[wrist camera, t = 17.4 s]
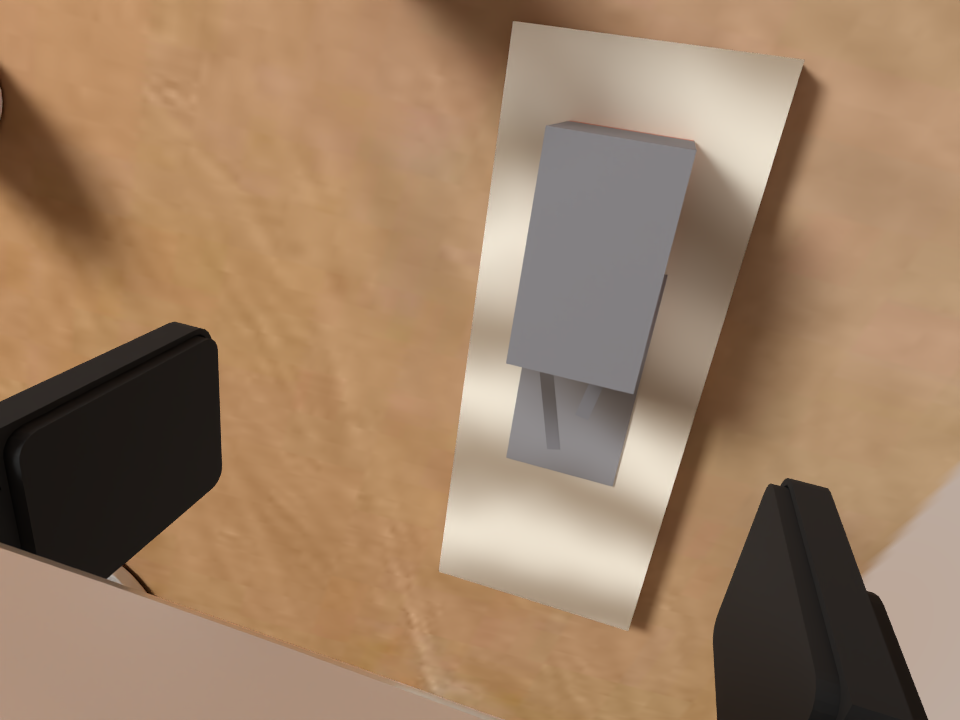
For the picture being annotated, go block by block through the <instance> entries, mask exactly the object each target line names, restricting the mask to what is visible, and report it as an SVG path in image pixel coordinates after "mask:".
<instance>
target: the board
mask: <svg viewBox="0 0 960 720" xmlns="http://www.w3.org/2000/svg"><path fill="white" fill-rule="evenodd" d="M803 63H804V60H803V59H795V58H788V57H780V56H773V55H765V54H758V53H750V52H743V51H735V50H728V49H720V48H713V47H705V46H698V45H690V44H683V43H675V42H667V41H660V40H652V39H645V38H637V37H630V36H622V35H615V34H607V33H600V32H592V31H585V30H577V29H570V28H562V27H555V26H547V25H540V24H532V23H525V22H517V21H513V26H512V33H511V40H510V48H509V55H508V63H507V70H506V77H505V85H504V92H503V100H502V107H501V114H500V122H499V129H498V137H497V144H496V151H495V159H494V166H493V174H492V181H491V188H490V196H489V203H488V211H487V218H486V225H485V233H484V240H483V248H482V255H481V262H480V270H479V277H478V285H477V292H476V299H475V307H474V314H473V322H472V329H471V336H470V344H469V351H468V359H467V366H466V374H465V381H464V388H463V396H462V403H461V411H460V418H459V425H458V433H457V440H456V448H455V455H454V462H453V470H452V477H451V485H450V492H449V499H448V507H447V514H446V522H445V529H444V536H443V544H442V551H441V559H440V566H439V572H442V573H445V574H448V575H452V576H455V577H458V578H461V579H464V580H467V581H471V582H474V583H477V584H480V585H483V586H487V587H490V588H493V589H496V590H499V591H502V592H506V593H509V594H512V595H515V596H518V597H522V598H525V599H528V600H531V601H534V602H537V603H541V604H544V605H547V606H550V607H553V608H557V609H560V610H563V611H566V612H569V613H572V614H576V615H579V616H582V617H585V618H588V619H591V620H595V621H598V622H601V623H604V624H607V625H611V626H614V627H617V628H620V629H623V630H626V631H628V630H629V627H630V624H631V621H632V617H633V614H634V611H635V608H636V604H637V601H638V598H639V595H640V591H641V588H642V585H643V582H644V578H645V575H646V572H647V569H648V565H649V562H650V559H651V556H652V552H653V549H654V546H655V543H656V540H657V536H658V533H659V530H660V527H661V523H662V520H663V517H664V514H665V510H666V507H667V504H668V501H669V497H670V494H671V491H672V488H673V484H674V481H675V478H676V475H677V471H678V468H679V465H680V462H681V459H682V455H683V452H684V449H685V446H686V442H687V439H688V436H689V433H690V429H691V426H692V423H693V420H694V416H695V413H696V410H697V407H698V403H699V400H700V397H701V394H702V390H703V387H704V384H705V381H706V378H707V374H708V371H709V368H710V365H711V361H712V358H713V355H714V352H715V348H716V345H717V342H718V339H719V335H720V332H721V329H722V326H723V322H724V319H725V316H726V313H727V309H728V306H729V303H730V300H731V297H732V293H733V290H734V287H735V284H736V280H737V277H738V274H739V271H740V267H741V264H742V261H743V258H744V254H745V251H746V248H747V245H748V241H749V238H750V235H751V232H752V228H753V225H754V222H755V219H756V216H757V212H758V209H759V206H760V203H761V199H762V196H763V193H764V190H765V186H766V183H767V180H768V177H769V173H770V170H771V167H772V164H773V160H774V157H775V154H776V151H777V147H778V144H779V141H780V138H781V135H782V131H783V128H784V125H785V122H786V118H787V115H788V112H789V109H790V105H791V102H792V99H793V96H794V92H795V89H796V86H797V83H798V79H799V76H800V73H801V70H802V66H803ZM570 120H571V121H578V122H584V123H590V124H596V125H602V126H608V127H615V128H621V129H627V130H633V131H639V132H645V133H652V134H658V135H664V136H670V137H676V138H682V139H689V140H694V142H695V146H696V150H697V151H696V155H695V159H694V162H693V166H692V170H691V174H690V178H689V182H688V186H687V189H686V193H685V197H684V201H683V205H682V209H681V213H680V216H679V220H678V224H677V228H676V232H675V236H674V240H673V243H672V247H671V251H670V255H669V259H668V263H667V267H666V270H665V274H664V278H663V282H662V286H661V290H660V294H659V297H658V301H657V305H656V309H655V313H654V317H653V321H652V324H651V328H650V332H649V336H648V340H647V344H646V348H645V351H644V355H643V359H642V363H641V367H640V371H639V375H638V378H637V382H636V386H635V390H634V394H630V393H626V392H621V391H617V390H613V389H609V388H605V387H601V386H597V385H593V384H588V383H584V382H580V381H576V380H572V379H568V378H564V377H560V376H556V375H551V374H547V373H543V372H539V371H535V370H531V369H527V368H523V367H518V366H514V365H510V364H506V360H507V354H508V348H509V342H510V336H511V330H512V324H513V318H514V312H515V306H516V300H517V295H518V289H519V283H520V277H521V271H522V265H523V259H524V253H525V247H526V241H527V235H528V229H529V223H530V217H531V211H532V205H533V199H534V193H535V187H536V181H537V175H538V169H539V163H540V157H541V151H542V145H543V139H544V133H545V127H546V125H551V124H556V123H561V122H566V121H570Z"/></svg>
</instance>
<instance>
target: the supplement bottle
mask: <svg viewBox="0 0 960 720" xmlns="http://www.w3.org/2000/svg"><path fill="white" fill-rule="evenodd" d="M1 114H2V93H1V88H0V118H1Z"/></svg>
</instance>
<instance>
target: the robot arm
mask: <svg viewBox="0 0 960 720" xmlns="http://www.w3.org/2000/svg"><path fill="white" fill-rule="evenodd" d="M221 471H222V454H221V427H220V399H219V371H218V349H217V345H216V342H215V341H214V340H212V339H211V336H210V334H209V332H207V331H206V330H205V329H201V328H197V327H193V326H190V325H186V324H182V323H177V322H172V323H168V324H166V325H164V326H162V327H160V328H158V329H156V330H153V331H151V332H149V333H147V334H145V335H143V336H140V337H138V338H136V339H134V340H132V341H130V342H128V343H125V344H123V345H121V346H119V347H117V348H115V349H112V350H110V351H108V352H106V353H104V354H102V355H100V356H97V357H95V358H93V359H91V360H89V361H87V362H85V363H82V364H80V365H78V366H76V367H74V368H72V369H69V370H67V371H65V372H63V373H61V374H59V375H57V376H54V377H52V378H50V379H48V380H46V381H44V382H41V383H39V384H37V385H35V386H33V387H31V388H29V389H26V390H24V391H22V392H20V393H18V394H16V395H14V396H11V397H9V398H7V399H5V400H3V401H1V402H0V720H504V719H501V718H498V717H495V716H492V715H490V714H487V713H484V712H481V711H478V710H476V709H473V708H470V707H467V706H465V705H462V704H459V703H456V702H453V701H451V700H448V699H445V698H442V697H439V696H437V695H434V694H431V693H428V692H425V691H423V690H420V689H417V688H414V687H412V686H409V685H406V684H403V683H400V682H398V681H395V680H392V679H389V678H386V677H384V676H381V675H378V674H375V673H373V672H370V671H367V670H364V669H361V668H359V667H356V666H353V665H350V664H347V663H344V662H342V661H339V660H336V659H333V658H330V657H327V656H325V655H322V654H319V653H316V652H313V651H310V650H308V649H305V648H302V647H299V646H296V645H293V644H291V643H288V642H285V641H282V640H279V639H276V638H274V637H271V636H268V635H265V634H262V633H259V632H257V631H254V630H251V629H248V628H245V627H242V626H240V625H237V624H234V623H231V622H228V621H225V620H222V619H220V618H217V617H214V616H211V615H208V614H205V613H202V612H200V611H197V610H194V609H191V608H188V607H185V606H183V605H180V604H177V603H174V602H171V601H168V600H165V599H163V598H160V597H157V596H154V595H151V594H148V593H146V591H145V590H144V588H143V587H142V586H141V585H140V584H139V582H138V581H137V580H136V579H135V578H134V577H133V575H131V574H130V573H129V572H128V571H127V570H126V569H125V568H124V567H123V566H122V565H124V564H125V563H126V562H127V561H128V560H129V559H131V558H132V557H133V556H134V555H135V554H136V553H138V552H139V551H140V550H141V549H142V548H143V547H145V546H146V545H147V544H148V543H149V542H150V541H152V540H153V539H154V538H155V537H156V536H157V535H159V534H160V533H161V532H162V531H163V530H164V529H166V528H167V527H168V526H169V525H170V524H171V523H173V522H174V521H175V520H176V519H177V518H178V517H180V516H181V515H182V514H183V513H184V512H185V511H187V510H188V509H189V508H190V507H191V506H192V505H193V504H195V503H196V502H197V501H198V500H199V499H200V498H202V497H203V496H204V495H205V494H206V493H207V492H209V491H210V490H211V489H212V488H213V487H214V486H215V485H216V483H217V482H218V480H219V478H220V475H221ZM713 651H714V669H715V688H716V706H717V720H928V718H927V716H926V713H925V711H924V708H923V705H922V703H921V700H920V697H919V695H918V692H917V690H916V687H915V685H914V682H913V680H912V677H911V674H910V672H909V669H908V667H907V664H906V661H905V659H904V656H903V654H902V651H901V649H900V646H899V643H898V641H897V638H896V636H895V633H894V631H893V628H892V625H891V622H890V620H889V618H888V615H887V612H886V610H885V607H884V605H883V603H882V601H881V599H880V598H879V596H877V595H876V594H874V593H872V592H868V591H866V588H865V586H864V583H863V580H862V577H861V575H860V572H859V569H858V566H857V564H856V561H855V558H854V555H853V553H852V550H851V547H850V544H849V542H848V539H847V536H846V533H845V531H844V528H843V525H842V522H841V520H840V517H839V514H838V511H837V509H836V506H835V503H834V500H833V498H832V495H831V492H830V491H829V489H828V488H825V487H821V486H817V485H813V484H809V483H805V482H801V481H797V480H793V479H789V478H787V479H785V480H784V481H783V483H782V484H781V486H778V485H774V484H769V485H768V487H767V488H766V490H765V492H764V495H763V498H762V500H761V503H760V505H759V508H758V511H757V513H756V516H755V519H754V521H753V524H752V526H751V529H750V532H749V534H748V537H747V539H746V542H745V545H744V547H743V550H742V552H741V555H740V558H739V560H738V563H737V566H736V568H735V571H734V573H733V576H732V579H731V581H730V584H729V586H728V589H727V592H726V594H725V597H724V599H723V602H722V605H721V607H720V610H719V613H718V615H717V618H716V622H715V626H714V633H713Z"/></svg>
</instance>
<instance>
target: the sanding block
mask: <svg viewBox="0 0 960 720" xmlns="http://www.w3.org/2000/svg"><path fill="white" fill-rule="evenodd" d="M696 151H697V150H696V146H695V142H694V140H689V139H682V138H676V137H670V136H664V135H658V134H652V133H645V132H639V131H633V130H627V129H621V128H615V127H608V126H602V125H596V124H590V123H584V122H578V121H571V120H570V121H566V122H561V123H556V124H551V125H546V127H545V133H544V139H543V145H542V151H541V157H540V163H539V169H538V175H537V181H536V187H535V193H534V199H533V205H532V211H531V217H530V223H529V229H528V235H527V241H526V247H525V253H524V259H523V265H522V271H521V277H520V283H519V289H518V295H517V300H516V306H515V312H514V318H513V324H512V330H511V336H510V342H509V348H508V354H507V360H506V364H510V365H514V366H518V367H523V368H527V369H531V370H535V371H539V372H543V373H547V374H551V375H556V376H560V377H564V378H568V379H572V380H576V381H580V382H584V383H588V384H593V385H597V386H601V387H605V388H609V389H613V390H617V391H621V392H626V393H630V394H634V390H635V386H636V382H637V378H638V375H639V371H640V367H641V363H642V359H643V355H644V351H645V348H646V344H647V340H648V336H649V332H650V328H651V324H652V321H653V317H654V313H655V309H656V305H657V301H658V297H659V294H660V290H661V286H662V282H663V278H664V274H665V270H666V267H667V263H668V259H669V255H670V251H671V247H672V243H673V240H674V236H675V232H676V228H677V224H678V220H679V216H680V213H681V209H682V205H683V201H684V197H685V193H686V189H687V186H688V182H689V178H690V174H691V170H692V166H693V162H694V159H695V155H696Z"/></svg>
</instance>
